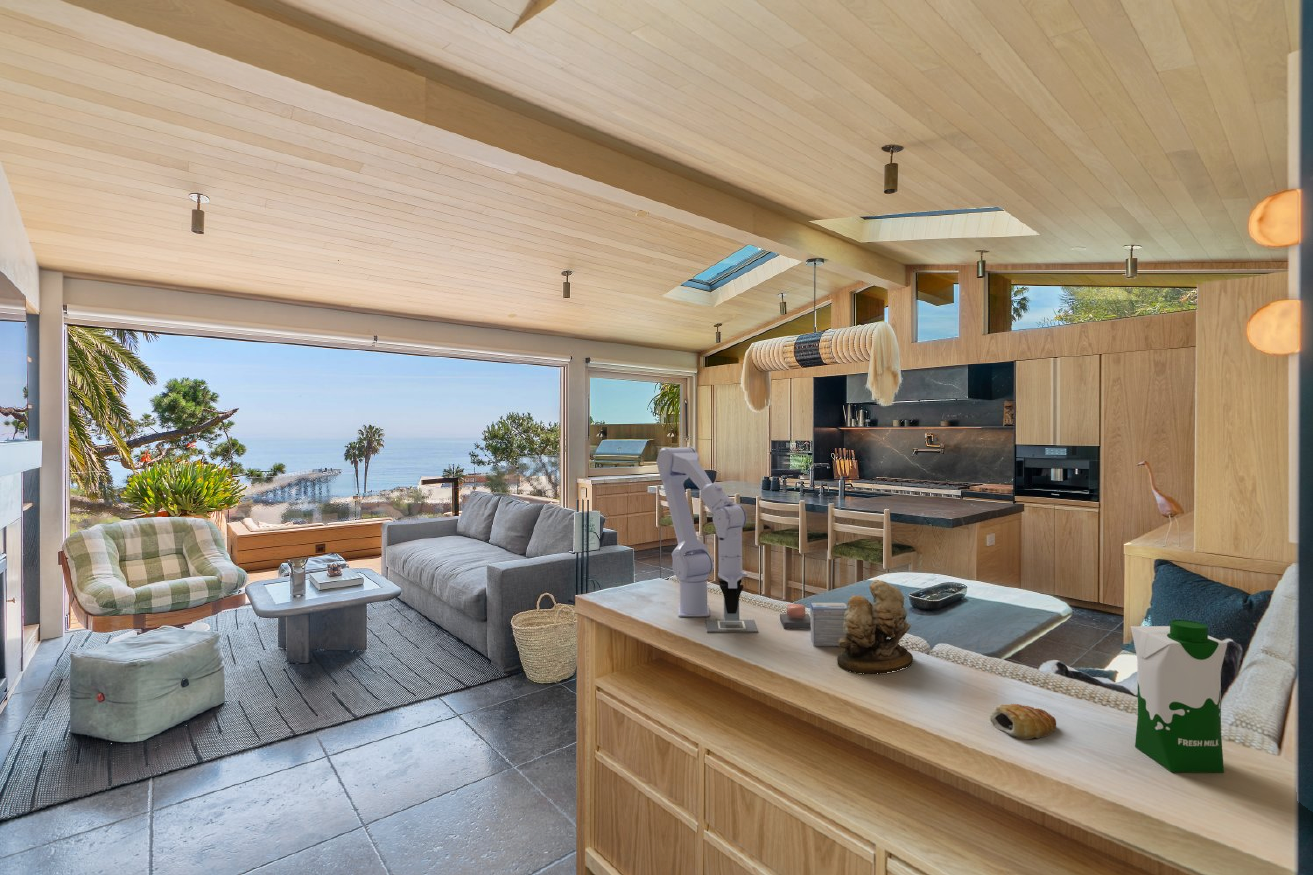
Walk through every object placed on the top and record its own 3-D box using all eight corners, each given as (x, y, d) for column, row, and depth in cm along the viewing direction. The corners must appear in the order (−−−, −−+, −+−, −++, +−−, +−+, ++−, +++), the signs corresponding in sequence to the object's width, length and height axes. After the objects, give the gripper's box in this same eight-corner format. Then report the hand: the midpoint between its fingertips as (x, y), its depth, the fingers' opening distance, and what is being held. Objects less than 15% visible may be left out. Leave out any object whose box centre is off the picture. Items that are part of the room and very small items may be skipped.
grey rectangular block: (723, 616, 156) (723, 584, 156) (738, 616, 156) (737, 584, 155) (724, 620, 152) (724, 587, 152) (739, 620, 152) (738, 587, 152)
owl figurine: (883, 646, 139) (883, 568, 139) (930, 663, 129) (930, 579, 129) (822, 661, 130) (822, 578, 130) (868, 681, 120) (868, 591, 120)
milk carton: (1170, 776, 86) (1169, 629, 85) (1123, 743, 95) (1122, 610, 94) (1237, 776, 85) (1236, 629, 85) (1183, 743, 94) (1182, 610, 94)
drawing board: (706, 621, 159) (706, 619, 159) (754, 621, 158) (754, 619, 158) (707, 632, 150) (707, 630, 150) (758, 632, 149) (758, 630, 149)
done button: (785, 612, 157) (785, 603, 157) (803, 612, 157) (803, 603, 157) (788, 617, 153) (788, 608, 153) (807, 617, 153) (806, 608, 153)
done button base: (779, 619, 159) (779, 613, 159) (808, 619, 158) (808, 613, 158) (784, 628, 152) (784, 622, 152) (813, 628, 151) (813, 622, 151)
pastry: (1033, 716, 104) (1033, 693, 104) (1069, 736, 98) (1069, 711, 98) (986, 724, 102) (986, 700, 102) (1019, 744, 95) (1019, 719, 95)
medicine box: (846, 640, 143) (845, 602, 143) (850, 647, 138) (849, 607, 138) (810, 640, 143) (809, 601, 143) (813, 646, 139) (812, 607, 139)
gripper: (749, 561, 146) (750, 619, 146) (744, 549, 161) (744, 602, 161) (719, 561, 147) (720, 619, 147) (716, 549, 161) (717, 602, 161)
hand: (731, 610), depth 154 cm, fingers closed on grey rectangular block, 3 cm apart
